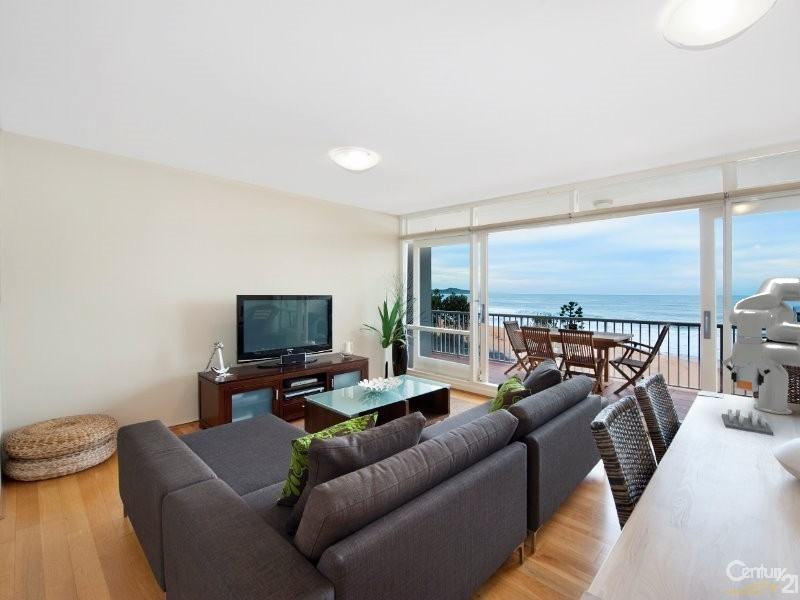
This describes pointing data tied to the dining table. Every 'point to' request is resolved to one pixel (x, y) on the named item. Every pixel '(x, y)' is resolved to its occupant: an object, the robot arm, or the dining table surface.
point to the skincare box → (747, 377)
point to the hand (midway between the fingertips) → (746, 382)
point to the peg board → (746, 422)
